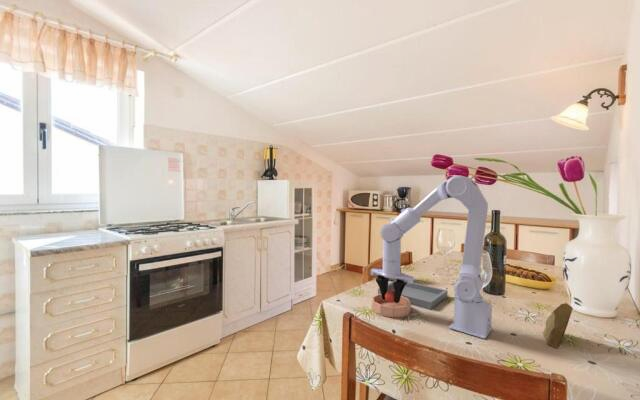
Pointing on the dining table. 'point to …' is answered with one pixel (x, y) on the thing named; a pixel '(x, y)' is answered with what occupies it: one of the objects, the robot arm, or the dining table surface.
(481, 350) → the dining table surface
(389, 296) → the ball
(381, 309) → the pink bowl
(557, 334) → the rock
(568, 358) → the dining table surface
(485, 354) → the dining table surface
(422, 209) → the robot arm
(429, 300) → the tray
